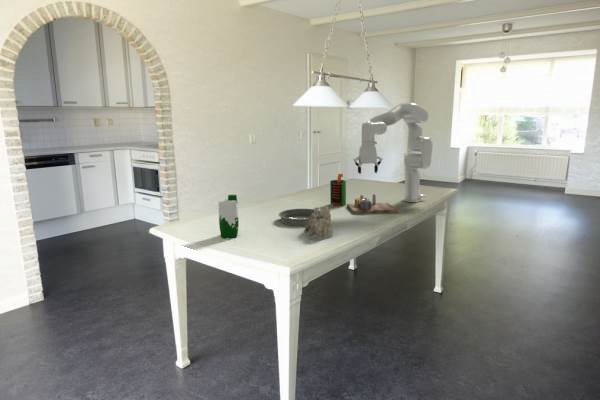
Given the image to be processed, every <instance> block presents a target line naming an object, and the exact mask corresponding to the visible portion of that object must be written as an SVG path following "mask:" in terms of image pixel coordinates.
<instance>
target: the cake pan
mask: <svg viewBox="0 0 600 400" xmlns="http://www.w3.org/2000/svg"><path fill="white" fill-rule="evenodd" d="M312 213H314V209H313V208H291V209H286V210H285V209H284V210H282V211H280V212H279V213H278V217H280V219H281V222H282V224H284V223H285V224H284V225H288V226H296V227H303V226H304V227H305V221H306V220H307V219H308V218H309V217H310V215H311V214H312ZM319 213H320V210H319V209H318V215H319ZM289 217H293V218H297V219H291V218H289ZM304 218H305V219H304Z"/></svg>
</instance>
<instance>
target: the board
mask: <svg viewBox="0 0 600 400" xmlns="http://www.w3.org/2000/svg"><path fill="white" fill-rule="evenodd" d="M359 198H360V199H361V200H363V199H364V202H367V199H368V197H365V196H364V194H360V197H359ZM346 208H347V209H348V210H349V211H350V212H351V213H352V214H353V215H371V214H372V215H374V214H398V208H396V207H394V206H393V205H391V204H390V203H389V202H377V194H372V199H371V209H370V210H362V209H360V207H357V206H355V203H346Z"/></svg>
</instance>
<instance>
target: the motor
mask: <svg viewBox="0 0 600 400" xmlns="http://www.w3.org/2000/svg"><path fill="white" fill-rule="evenodd" d="M343 177H344V175H343V173H338V174H337V179H331V180H330V181H329V182H330V184H329V185H330V187H329V188H330V191H329V192H330V202H329V203H330V205H332V206H334V207H345V206H347V180H344V179H342V178H343Z"/></svg>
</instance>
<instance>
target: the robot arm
mask: <svg viewBox="0 0 600 400" xmlns="http://www.w3.org/2000/svg"><path fill="white" fill-rule="evenodd" d="M402 119H403V122H404V123H405V124H406V126H407V129H408V135H407V136H408V138H407V149H408V150H409V151H410V152H411V153H407V154H406V155H405V156H404V158H403V159H404V160H403V163H404V170H405V171H404V172H405V173H404V197H402V198H401V201H403V202H407V203H418V202H419V203H420V202H421V201H422V198H424V199H425V198H427V194H421V193H420V183H421V182H420V181H421V173H420V171H419V169H420V170H422V169H423V170H427V169H429V168H430V166H431V164H432V155H433V141H432V139H431V138H430V137H426V136H423V127H422V125H421V124H424V123H426V122H427V121H428V119H429V113H428V111H427V110H426V108H424V107H422V106H421V105H419V104H417V103H414V102H402V103H399V104H397V105H395V106H394V107H392V108H391V109H389V110H388V111H386V112H384V113H380V114H378V115H377V116H374V117H371V118H370V119H369V120H367V121H366V122H362V124H361V146H359V151H358V156H356V157H355V158H354V159H353V160H352V161H353V162H354V164H355V165H356V166H357V173H358V174H361V173H362V167H361V166H362V165H364V164H365V165H366V164H374V166H373V167H374V170H373V171H374V173H375V174H378V171H379V170H378V169H379V166H380V164H381V163H382V161H383V158H382V157H380V156H378V155H377V154H378V153H377V147H376V145H377V144H378V142H377V141H376V139H375V138H376V137H375V135H377V136H378V135H379V136H380V135H382V136H383V135H384V134H385V133H386V132H387V128H388V126H393V125H395V124H397V123H399V121H401V120H402ZM412 152H414V153H412ZM415 152H419V153H415ZM420 152H421V153H420ZM357 161H358V162H357Z"/></svg>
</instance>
